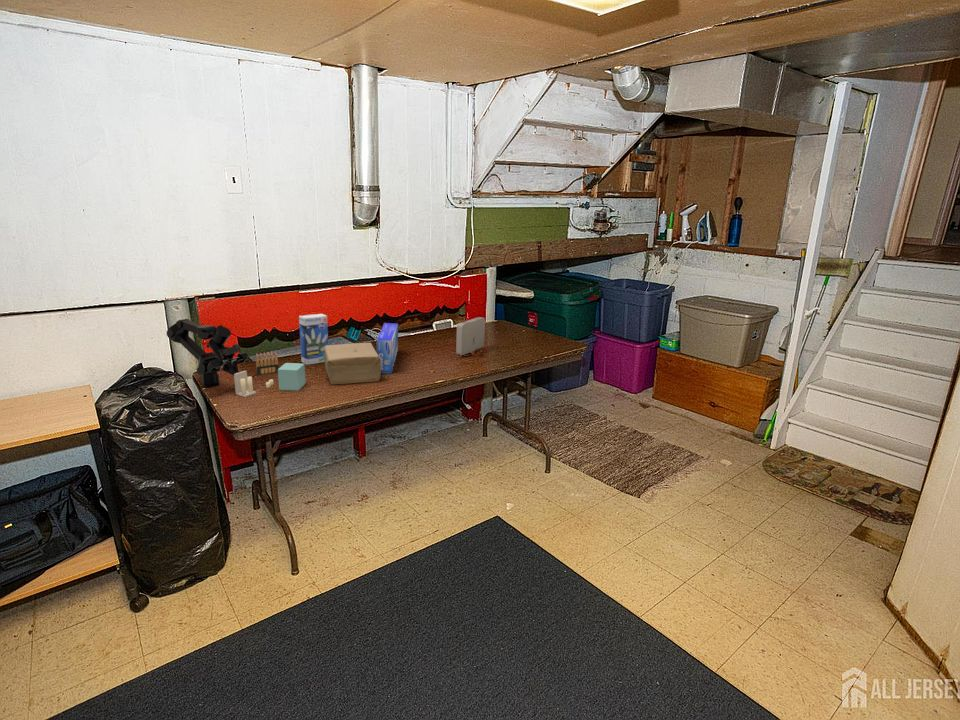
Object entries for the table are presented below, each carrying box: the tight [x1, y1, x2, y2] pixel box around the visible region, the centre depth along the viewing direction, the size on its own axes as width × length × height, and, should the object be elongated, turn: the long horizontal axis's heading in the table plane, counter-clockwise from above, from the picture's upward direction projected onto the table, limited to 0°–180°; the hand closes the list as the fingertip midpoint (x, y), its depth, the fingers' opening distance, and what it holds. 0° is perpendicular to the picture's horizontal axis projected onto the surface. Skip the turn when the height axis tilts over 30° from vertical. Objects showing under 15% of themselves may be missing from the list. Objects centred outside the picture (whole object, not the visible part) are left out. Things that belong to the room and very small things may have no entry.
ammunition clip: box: [255, 350, 280, 376], centre depth 271 cm, size 11×2×12 cm, turn 122°
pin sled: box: [233, 370, 257, 398], centre depth 243 cm, size 6×6×10 cm
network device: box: [455, 316, 486, 356], centre depth 320 cm, size 26×9×20 cm, turn 148°
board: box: [265, 378, 274, 388], centre depth 255 cm, size 12×7×3 cm, turn 89°
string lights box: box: [298, 313, 329, 366], centre depth 292 cm, size 13×8×26 cm, turn 129°
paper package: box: [324, 342, 382, 385], centre depth 275 cm, size 27×26×14 cm
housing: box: [277, 362, 307, 391], centre depth 254 cm, size 9×10×10 cm
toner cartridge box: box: [376, 322, 399, 374], centre depth 297 cm, size 39×8×18 cm, turn 4°
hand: (238, 376), depth 244 cm, fingers closed
